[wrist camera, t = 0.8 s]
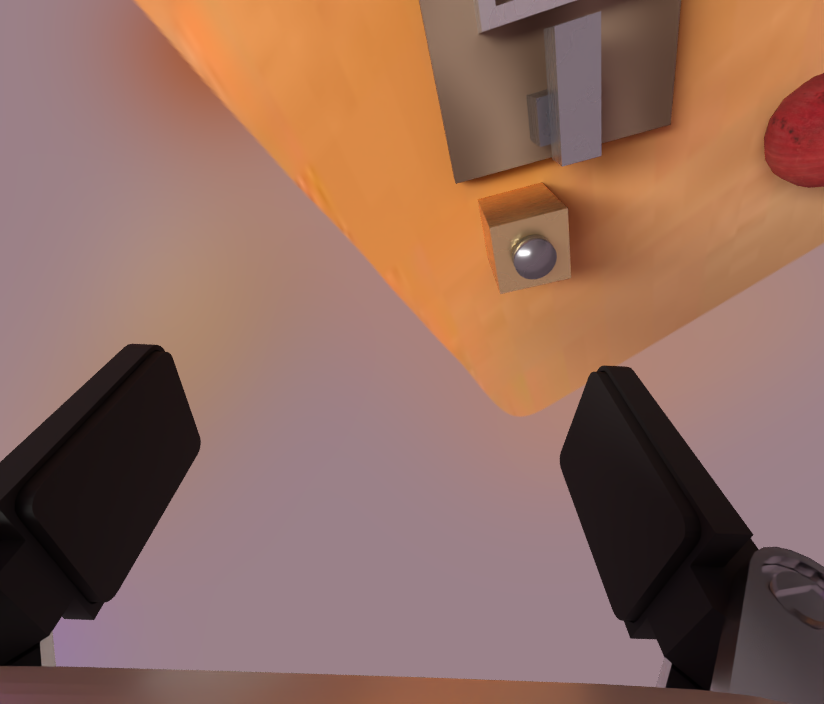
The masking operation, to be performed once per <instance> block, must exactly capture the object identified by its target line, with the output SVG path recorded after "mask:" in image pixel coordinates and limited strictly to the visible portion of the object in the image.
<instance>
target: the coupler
mask: <svg viewBox="0 0 824 704" xmlns="http://www.w3.org/2000/svg"><path fill="white" fill-rule="evenodd" d="M478 204H479V209H480V215H481V221H482V227H483V233H484V239H485V244H486V250H487V256H488V260H489V263H490V265H491V268H492V271H493V274H494V277H495V280H496V283H497V286H498V289H499V292H500V294H503V293H507V292H511V291H516V290H520V289H525V288H529V287H533V286H538V285H542V284H547V283H551V282H556V281H560V280H564V279H569V278H571V264H570V244H569V223H568V208H567V207H566V206H565V205H564V204H563V203H562V202H561V201H560V200H559V199H558V198H557V197H556V196H555V195H554V194H553V193H552V192H551V191H550V190H549V189H548V188H547V187H546V186H545V185H544V184H543V183H538V184H534V185H530V186H527V187H523V188H519V189H515V190H512V191H508V192H504V193H500V194H497V195H493V196H489V197H485V198H482V199H478Z"/></svg>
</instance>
